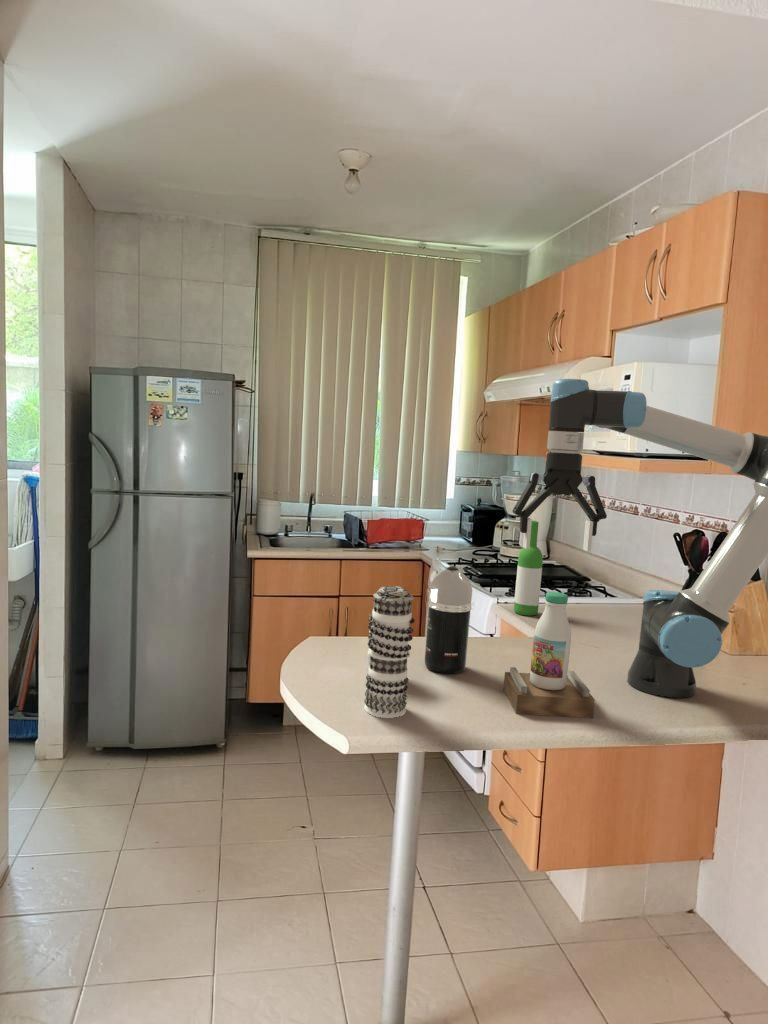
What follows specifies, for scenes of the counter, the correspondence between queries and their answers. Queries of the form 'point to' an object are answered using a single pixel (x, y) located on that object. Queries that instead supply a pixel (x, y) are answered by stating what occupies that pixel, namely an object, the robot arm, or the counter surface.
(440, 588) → the black water bottle
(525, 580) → the wine bottle
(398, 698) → the decorative candle
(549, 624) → the milk bottle
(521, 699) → the display riser
